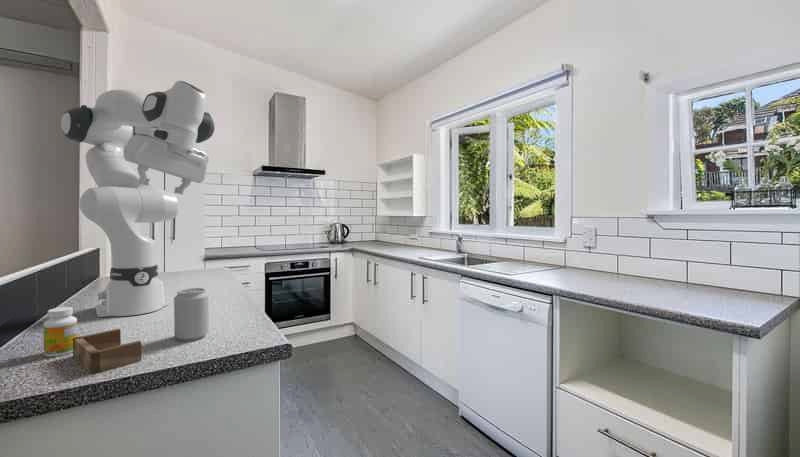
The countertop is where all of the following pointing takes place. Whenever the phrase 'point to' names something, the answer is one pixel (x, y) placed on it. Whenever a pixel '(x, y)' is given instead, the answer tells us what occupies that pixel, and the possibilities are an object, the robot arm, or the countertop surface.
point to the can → (191, 314)
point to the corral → (105, 351)
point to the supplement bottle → (59, 332)
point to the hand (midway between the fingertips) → (161, 189)
